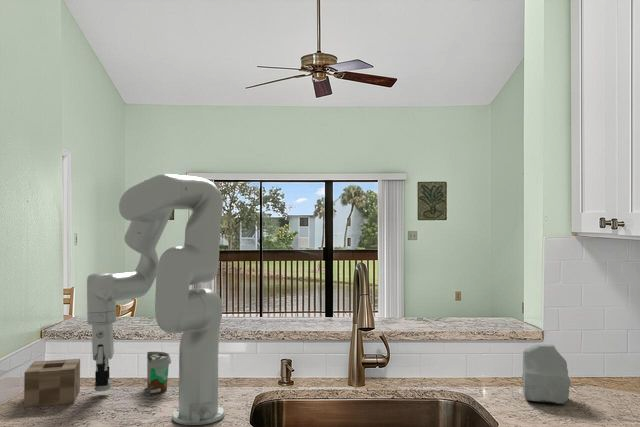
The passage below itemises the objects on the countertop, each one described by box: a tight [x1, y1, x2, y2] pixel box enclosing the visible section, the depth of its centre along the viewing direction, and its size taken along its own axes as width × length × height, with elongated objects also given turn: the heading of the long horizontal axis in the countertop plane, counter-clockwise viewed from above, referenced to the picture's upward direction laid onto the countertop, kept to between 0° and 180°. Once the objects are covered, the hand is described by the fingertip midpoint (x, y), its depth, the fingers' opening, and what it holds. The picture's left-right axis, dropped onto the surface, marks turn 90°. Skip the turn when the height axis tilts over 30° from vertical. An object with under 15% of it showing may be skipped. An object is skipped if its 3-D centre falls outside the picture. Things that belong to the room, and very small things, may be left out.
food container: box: [146, 351, 172, 397], centre depth 161 cm, size 12×6×10 cm, turn 22°
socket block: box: [23, 358, 81, 408], centre depth 153 cm, size 12×12×9 cm
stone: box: [522, 343, 572, 405], centre depth 153 cm, size 12×12×15 cm
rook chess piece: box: [94, 362, 112, 392], centre depth 156 cm, size 4×4×8 cm
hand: (102, 382), depth 156 cm, fingers closed on rook chess piece, 4 cm apart
